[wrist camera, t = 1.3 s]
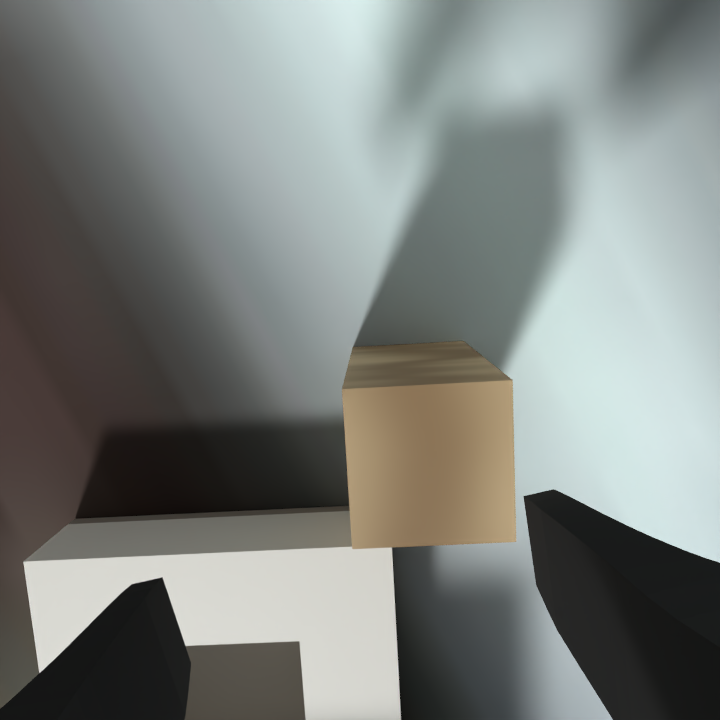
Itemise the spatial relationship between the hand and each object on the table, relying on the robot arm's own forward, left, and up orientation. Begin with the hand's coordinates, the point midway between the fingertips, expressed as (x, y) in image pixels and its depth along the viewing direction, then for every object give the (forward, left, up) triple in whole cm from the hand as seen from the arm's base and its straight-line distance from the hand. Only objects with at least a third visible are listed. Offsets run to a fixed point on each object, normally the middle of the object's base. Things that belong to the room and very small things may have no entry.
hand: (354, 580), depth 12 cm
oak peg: (-2, -1, -11) cm, 11 cm away
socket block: (+5, +9, -11) cm, 15 cm away
